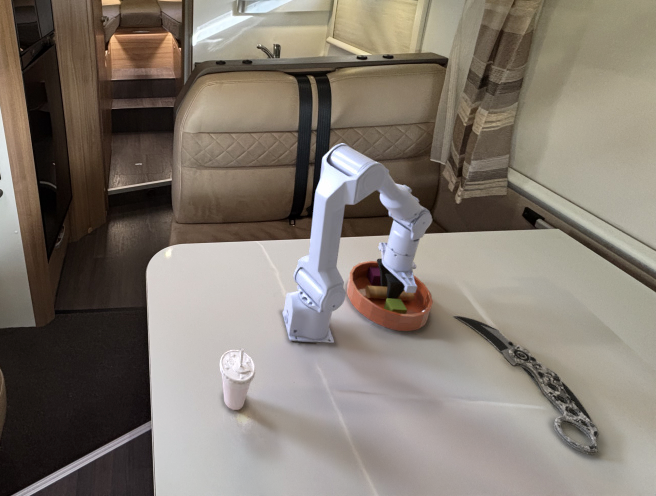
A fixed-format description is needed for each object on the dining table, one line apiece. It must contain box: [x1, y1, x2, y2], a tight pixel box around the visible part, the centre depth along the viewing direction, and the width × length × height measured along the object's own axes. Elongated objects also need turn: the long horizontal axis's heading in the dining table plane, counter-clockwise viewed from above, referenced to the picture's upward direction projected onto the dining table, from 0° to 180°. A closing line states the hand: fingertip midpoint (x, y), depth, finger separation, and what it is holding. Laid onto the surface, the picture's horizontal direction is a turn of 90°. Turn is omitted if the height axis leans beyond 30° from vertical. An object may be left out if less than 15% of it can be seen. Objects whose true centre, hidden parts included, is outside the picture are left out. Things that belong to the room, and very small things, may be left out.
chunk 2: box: [384, 298, 407, 314], centre depth 98 cm, size 3×3×3 cm
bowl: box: [346, 260, 434, 332], centre depth 102 cm, size 17×17×5 cm
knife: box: [453, 315, 600, 455], centre depth 85 cm, size 28×2×10 cm
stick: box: [365, 286, 414, 301], centre depth 102 cm, size 10×3×3 cm, turn 85°
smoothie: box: [219, 347, 256, 411], centre depth 78 cm, size 6×6×14 cm
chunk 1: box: [367, 267, 381, 286], centre depth 108 cm, size 3×3×3 cm
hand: (388, 292), depth 102 cm, fingers closed on stick, 3 cm apart
